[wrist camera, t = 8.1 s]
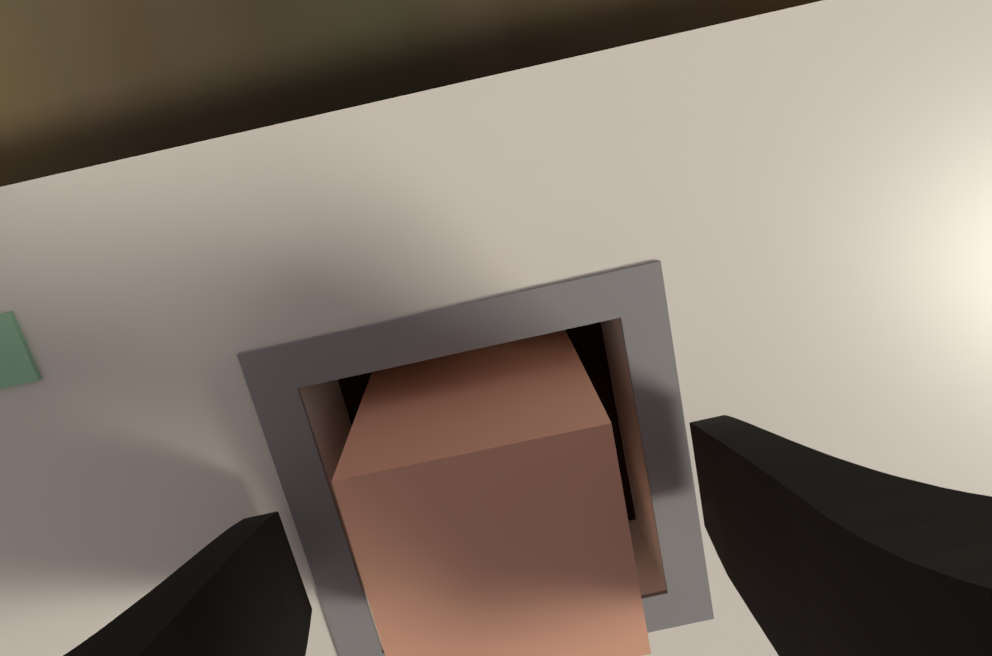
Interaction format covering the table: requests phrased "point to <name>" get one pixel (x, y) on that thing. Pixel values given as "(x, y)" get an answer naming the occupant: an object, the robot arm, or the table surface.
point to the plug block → (491, 507)
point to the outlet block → (506, 299)
